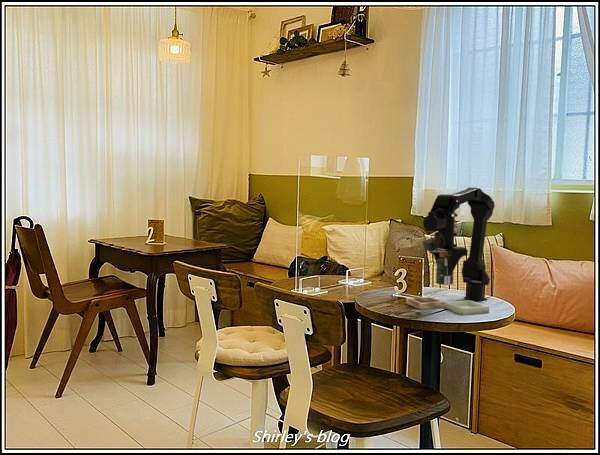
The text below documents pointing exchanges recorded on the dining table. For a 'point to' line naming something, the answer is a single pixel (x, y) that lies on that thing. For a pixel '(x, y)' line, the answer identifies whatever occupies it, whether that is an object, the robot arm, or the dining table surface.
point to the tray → (466, 307)
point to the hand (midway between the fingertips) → (445, 272)
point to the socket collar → (425, 302)
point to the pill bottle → (443, 271)
